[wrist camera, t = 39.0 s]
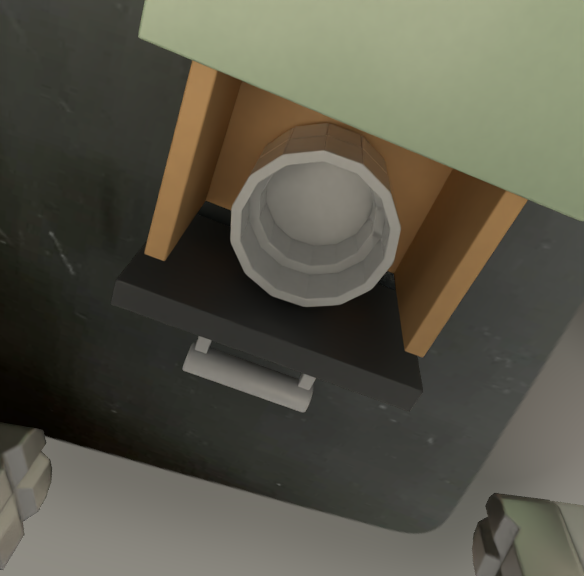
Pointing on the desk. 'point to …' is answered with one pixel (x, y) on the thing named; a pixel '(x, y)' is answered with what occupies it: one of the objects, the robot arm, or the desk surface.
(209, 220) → the drawer
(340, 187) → the steel bowl
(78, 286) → the desk surface
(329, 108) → the cabinet
